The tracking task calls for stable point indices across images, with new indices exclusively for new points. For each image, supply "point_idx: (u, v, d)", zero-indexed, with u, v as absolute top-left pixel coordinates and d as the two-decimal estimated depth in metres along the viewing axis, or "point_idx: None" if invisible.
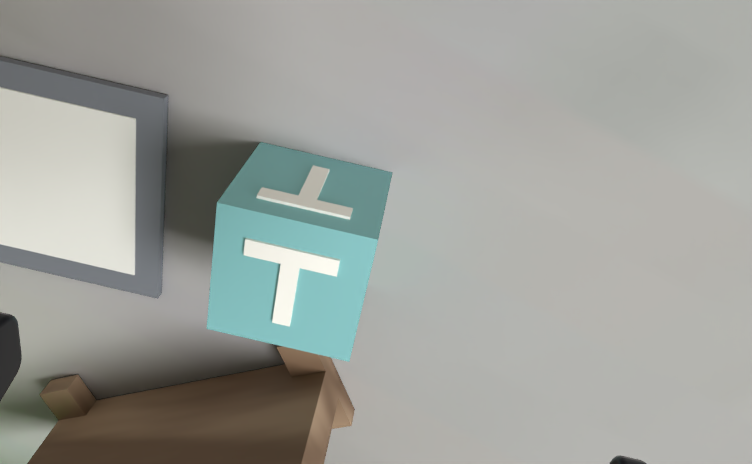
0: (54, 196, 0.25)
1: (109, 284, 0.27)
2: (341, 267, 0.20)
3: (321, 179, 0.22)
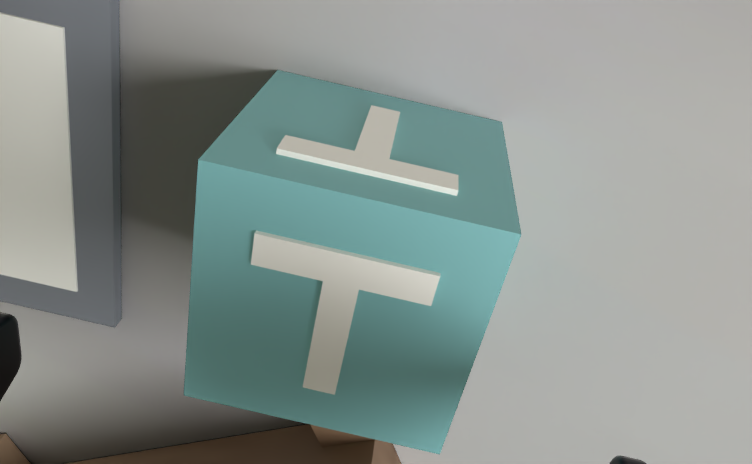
0: None
1: (39, 306, 0.17)
2: (440, 287, 0.10)
3: (390, 126, 0.12)
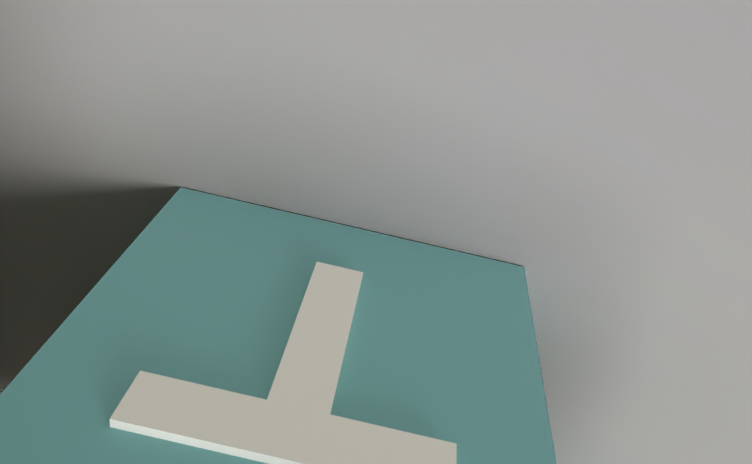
0: None
1: None
2: None
3: (342, 314, 0.07)
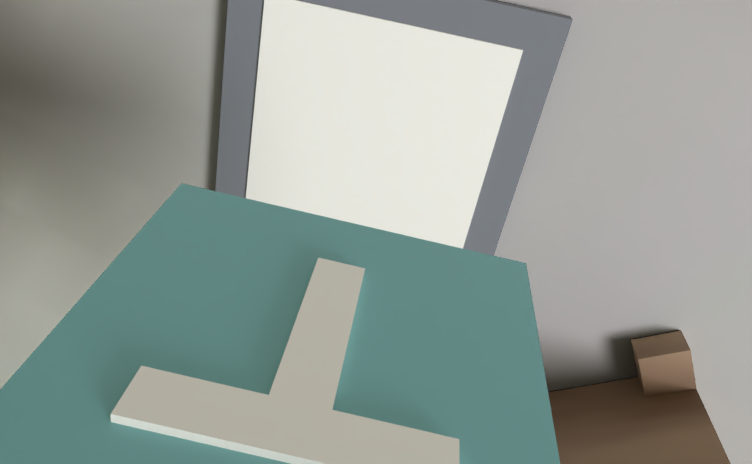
0: (375, 162, 0.19)
1: None
2: None
3: (344, 310, 0.07)
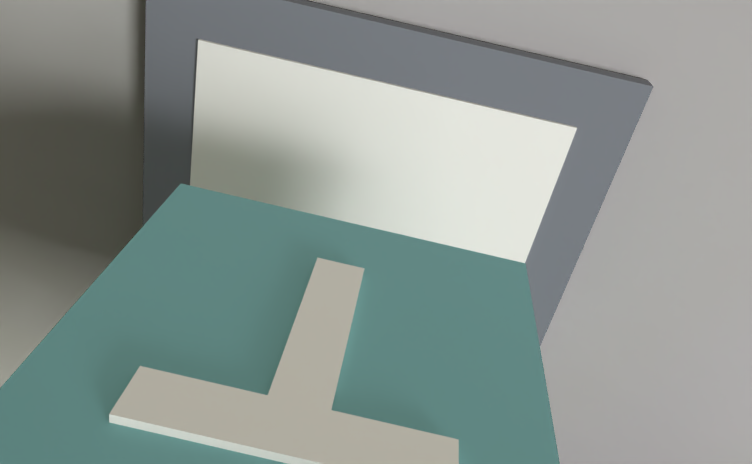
0: None
1: None
2: None
3: (343, 310, 0.07)
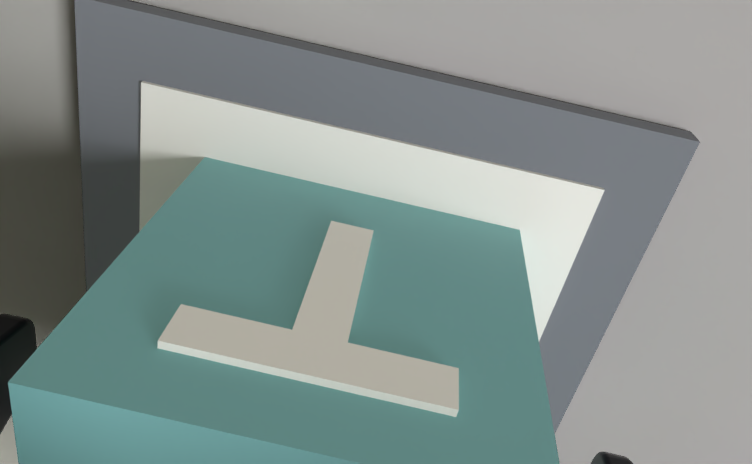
0: None
1: None
2: None
3: (355, 264, 0.08)
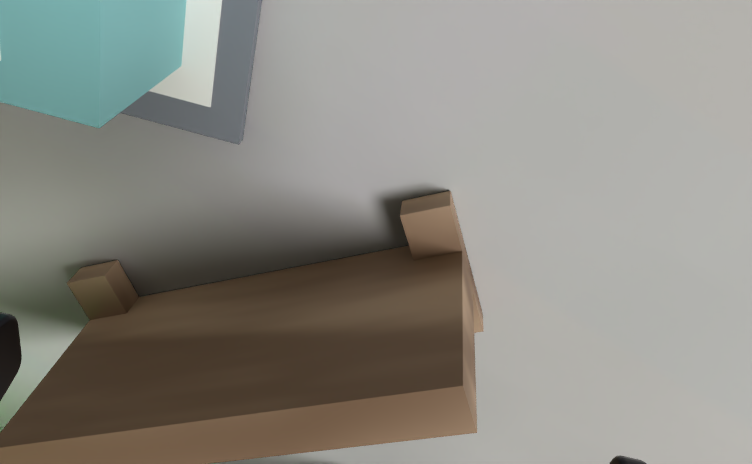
0: None
1: (173, 123, 0.20)
2: None
3: None
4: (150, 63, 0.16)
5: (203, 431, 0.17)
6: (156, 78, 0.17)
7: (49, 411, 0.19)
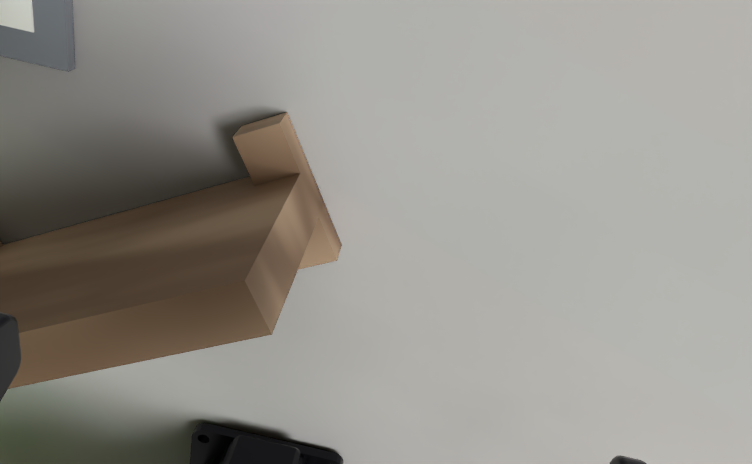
0: None
1: (0, 52, 0.20)
2: None
3: None
4: None
5: None
6: None
7: None
